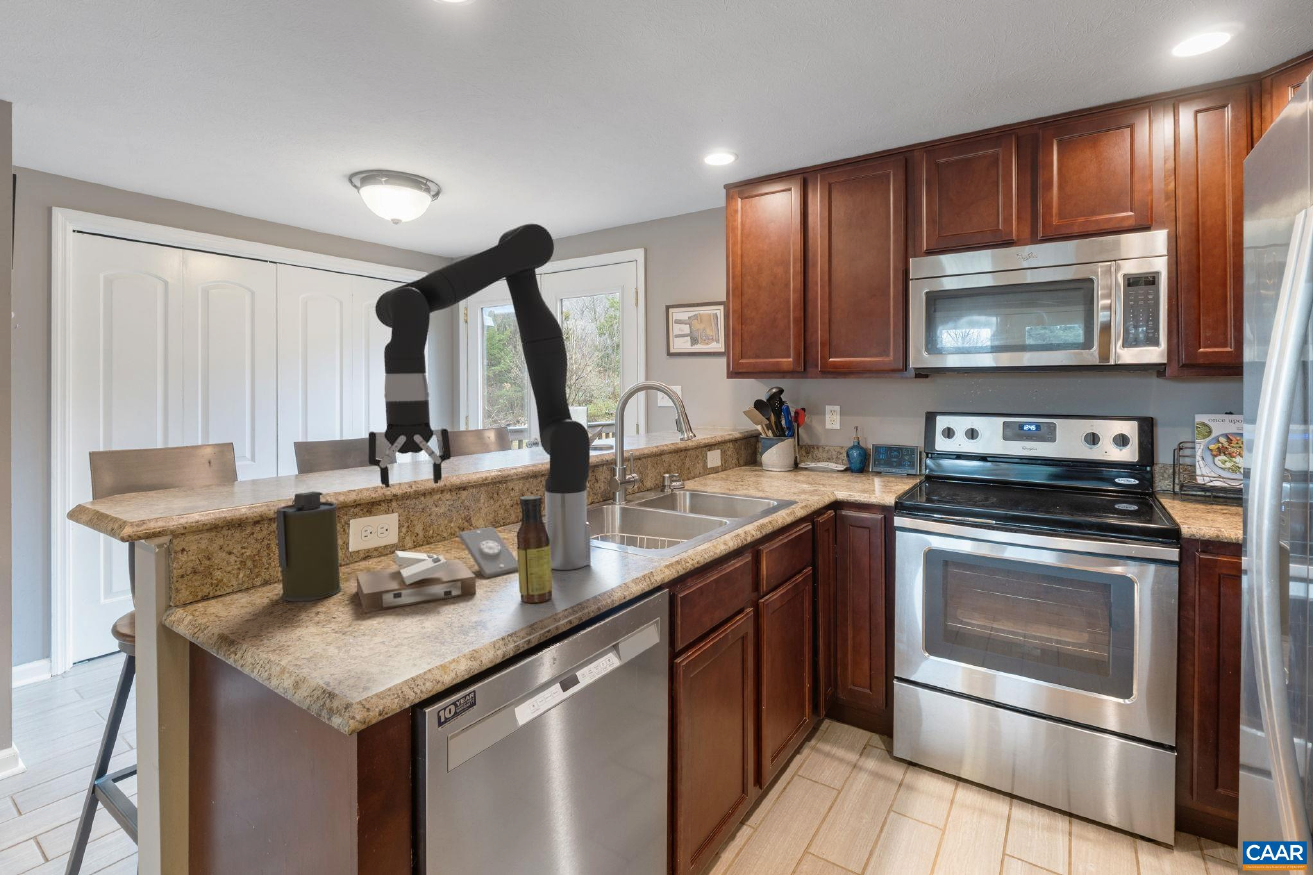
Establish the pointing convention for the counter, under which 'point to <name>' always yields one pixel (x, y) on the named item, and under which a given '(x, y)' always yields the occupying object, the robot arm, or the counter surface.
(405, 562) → the rocker
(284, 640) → the counter surface
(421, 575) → the rocker
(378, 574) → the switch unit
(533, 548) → the sauce bottle
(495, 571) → the light switch
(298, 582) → the canister
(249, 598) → the counter surface
